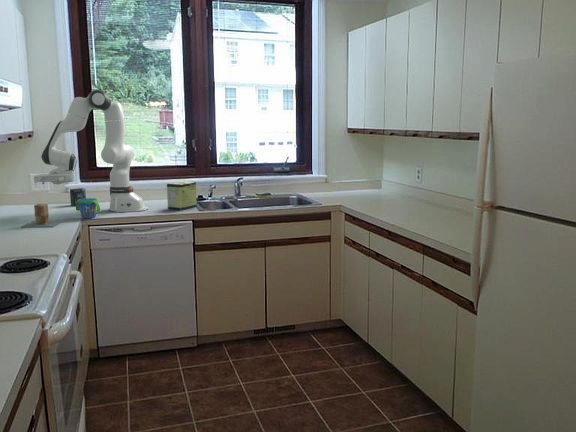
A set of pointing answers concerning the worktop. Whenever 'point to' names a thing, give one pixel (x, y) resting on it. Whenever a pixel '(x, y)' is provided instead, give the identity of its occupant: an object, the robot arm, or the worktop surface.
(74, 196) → the box
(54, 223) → the mat
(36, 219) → the walnut block
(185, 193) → the protein box
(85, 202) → the snack cup
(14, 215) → the worktop surface
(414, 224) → the worktop surface
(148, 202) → the worktop surface
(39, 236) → the worktop surface
